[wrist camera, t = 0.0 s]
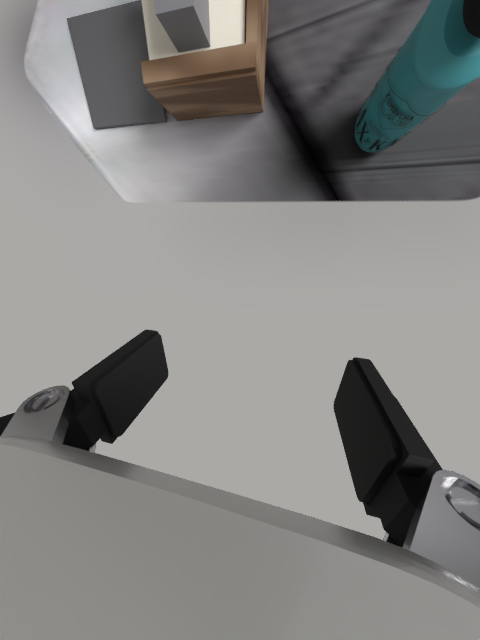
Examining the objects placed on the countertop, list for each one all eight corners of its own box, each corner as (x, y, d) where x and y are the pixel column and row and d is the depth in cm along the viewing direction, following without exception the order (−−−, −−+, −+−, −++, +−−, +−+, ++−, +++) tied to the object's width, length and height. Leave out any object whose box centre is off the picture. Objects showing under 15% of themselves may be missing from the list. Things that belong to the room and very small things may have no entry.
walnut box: (165, -1, 25) (117, -93, 18) (269, -27, 23) (262, -146, 15) (177, 120, 30) (144, 87, 23) (263, 111, 28) (254, 70, 21)
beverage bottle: (367, 89, 25) (563, -251, 7) (416, 104, 24) (747, -214, 7) (339, 151, 28) (431, 19, 10) (382, 165, 28) (552, 53, 10)
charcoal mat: (70, 22, 28) (66, 18, 28) (152, 2, 26) (149, -3, 25) (96, 129, 34) (93, 127, 33) (166, 121, 31) (164, 120, 30)
